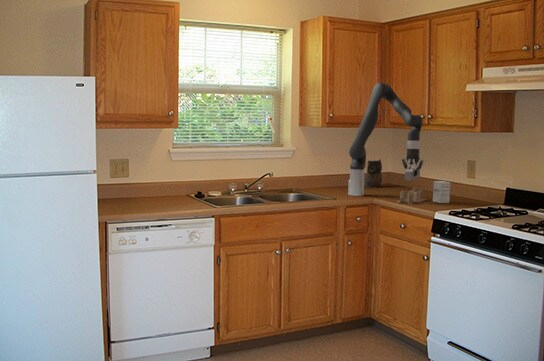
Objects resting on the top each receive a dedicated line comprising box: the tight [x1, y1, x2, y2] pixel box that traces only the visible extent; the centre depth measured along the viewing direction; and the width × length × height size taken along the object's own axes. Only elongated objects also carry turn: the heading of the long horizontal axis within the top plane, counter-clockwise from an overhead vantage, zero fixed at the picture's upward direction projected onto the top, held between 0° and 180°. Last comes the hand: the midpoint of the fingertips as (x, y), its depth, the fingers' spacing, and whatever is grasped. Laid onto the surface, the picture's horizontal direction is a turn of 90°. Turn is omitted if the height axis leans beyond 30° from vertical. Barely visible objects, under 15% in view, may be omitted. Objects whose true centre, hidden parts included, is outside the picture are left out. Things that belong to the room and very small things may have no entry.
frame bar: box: [404, 167, 421, 181], centre depth 391 cm, size 4×14×6 cm, turn 143°
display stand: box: [396, 187, 427, 205], centre depth 393 cm, size 10×20×7 cm, turn 143°
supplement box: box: [432, 180, 451, 204], centre depth 391 cm, size 7×7×13 cm
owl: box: [364, 159, 383, 189], centre depth 465 cm, size 13×13×20 cm
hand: (412, 175), depth 391 cm, fingers closed on frame bar, 3 cm apart
